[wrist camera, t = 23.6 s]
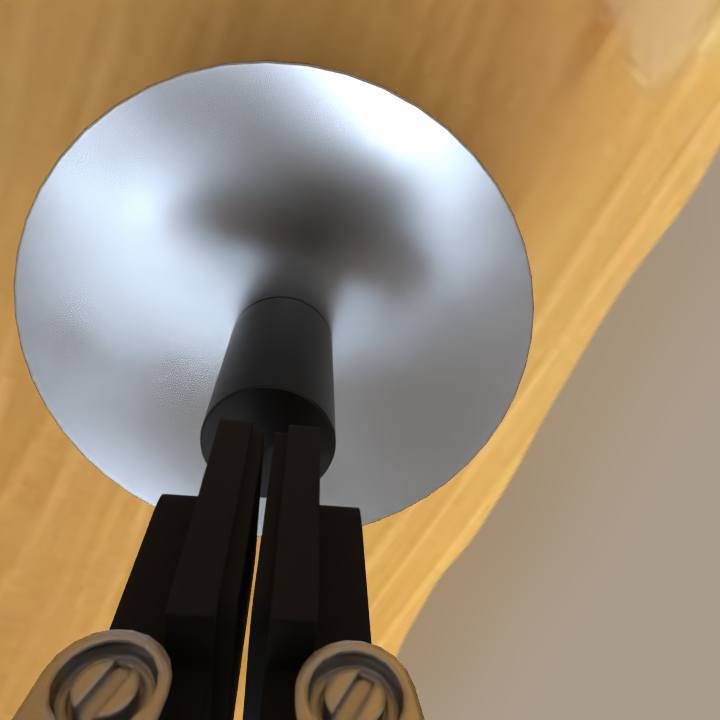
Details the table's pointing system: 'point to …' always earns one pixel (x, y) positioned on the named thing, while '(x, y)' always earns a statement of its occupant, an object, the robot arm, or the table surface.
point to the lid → (274, 284)
